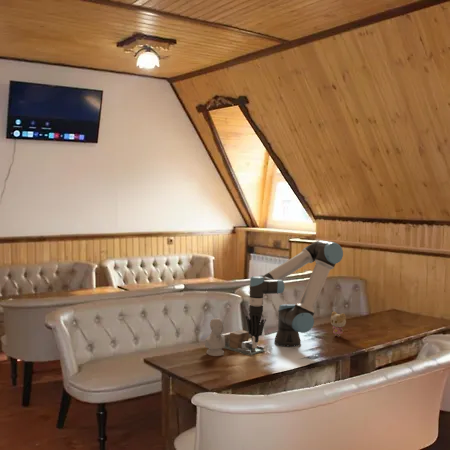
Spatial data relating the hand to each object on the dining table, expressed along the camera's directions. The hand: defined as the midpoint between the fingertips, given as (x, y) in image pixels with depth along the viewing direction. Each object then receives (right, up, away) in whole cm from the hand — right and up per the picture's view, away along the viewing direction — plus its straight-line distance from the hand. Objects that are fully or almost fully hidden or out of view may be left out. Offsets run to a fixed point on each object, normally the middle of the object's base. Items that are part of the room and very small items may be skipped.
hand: (254, 347), depth 321 cm
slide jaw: (-2, -1, +2) cm, 3 cm away
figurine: (-21, -3, -4) cm, 22 cm away
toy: (+54, -2, +43) cm, 69 cm away
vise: (-8, -2, +7) cm, 11 cm away
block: (-8, -1, +8) cm, 12 cm away
